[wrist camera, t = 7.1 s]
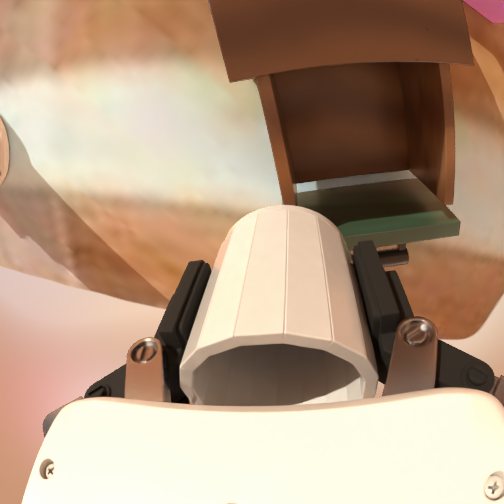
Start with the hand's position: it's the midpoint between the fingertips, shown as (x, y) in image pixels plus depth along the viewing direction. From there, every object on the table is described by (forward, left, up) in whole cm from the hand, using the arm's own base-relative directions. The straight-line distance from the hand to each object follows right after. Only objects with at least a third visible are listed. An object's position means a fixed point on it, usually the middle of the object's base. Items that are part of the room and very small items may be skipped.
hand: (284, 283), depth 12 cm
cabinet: (+6, +16, -18) cm, 24 cm away
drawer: (+6, +1, -17) cm, 18 cm away
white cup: (0, 0, -1) cm, 1 cm away
